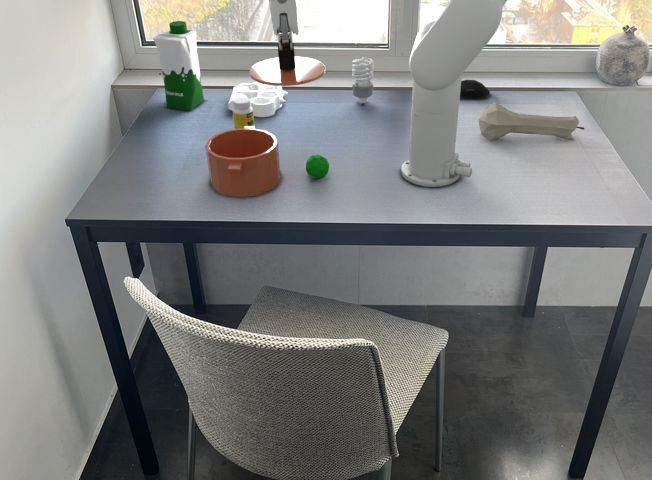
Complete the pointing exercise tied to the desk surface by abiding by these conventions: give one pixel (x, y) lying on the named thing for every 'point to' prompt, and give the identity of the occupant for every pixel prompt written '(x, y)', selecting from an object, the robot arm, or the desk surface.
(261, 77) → the pot lid
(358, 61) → the light bulb
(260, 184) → the pot
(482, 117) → the faceted club
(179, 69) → the milk carton
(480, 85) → the gaming mouse
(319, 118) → the desk surface
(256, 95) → the white muffin tray
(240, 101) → the supplement bottle
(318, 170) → the polyhedron
